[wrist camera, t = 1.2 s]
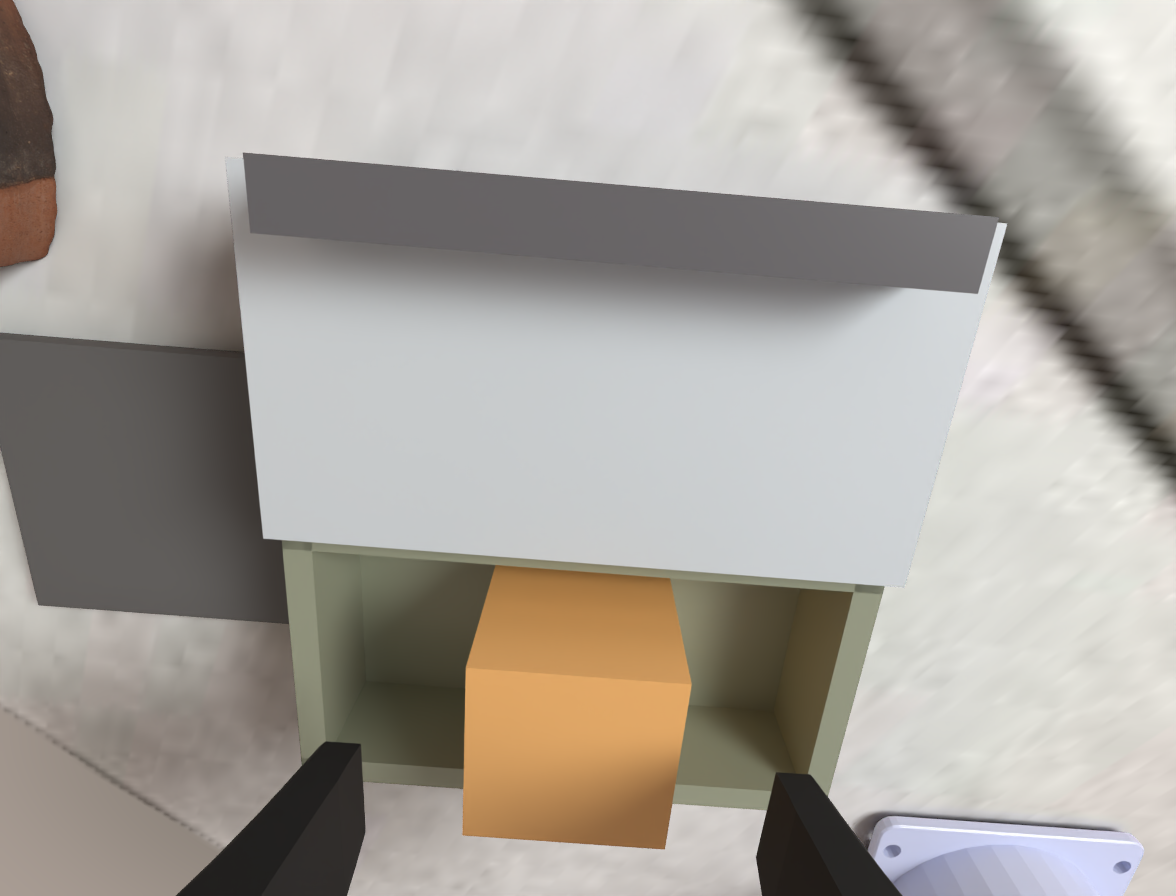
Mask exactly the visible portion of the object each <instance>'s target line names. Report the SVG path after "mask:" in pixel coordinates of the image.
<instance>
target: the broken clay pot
mask: <svg viewBox="0 0 1176 896" xmlns="http://www.w3.org/2000/svg"><path fill="white" fill-rule="evenodd" d="M52 125H53V115H52V112H51V109H50V106H49V104H48V101H47V98H46V94H45V86H44V79H43V72H42V69H41V66H40V64H39V62H38V59H37V54H36V50H35V47H34V44H33V42H32V40H31V38H30V35H29V34H28V32H27V30H26V28H25V27H24V25H23V22H22V18H21V16H20V14H19V12H18V10H17V8H16V6H15V4H14V2H13V0H0V267H3V266H9V265H12V264H16V263H19V262H25V261H33V260H38V259H41V258H43V257H45V256H46V255H47V254H48V250H49V246H50V243H51V242H52V239H53V237H54V232H55V219H56V215H57V204H56V182H55V179H54V174H55V170H56V163H55V156H54V147H53V141H52V135H51V130H52Z"/></svg>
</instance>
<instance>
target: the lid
mask: <svg viewBox="0 0 1176 896" xmlns="http://www.w3.org/2000/svg"><path fill="white" fill-rule="evenodd" d="M225 162H226V172H227V182H228V192H229V202H230V212H231V222H232V232H233V241H234V251H235V261H236V271H237V281H238V291H239V301H240V311H241V321H242V331H243V341H244V351H245V361H246V371H247V381H248V391H249V401H250V411H251V421H252V431H253V441H254V451H255V461H256V471H257V481H258V491H259V501H260V511H261V521H262V531H263V539H276V540H289V541H302V542H315V543H328V544H341V545H354V546H367V547H380V548H393V549H406V550H419V551H433V552H446V553H459V554H472V555H485V556H498V557H511V558H524V559H537V560H550V561H563V562H576V563H589V564H602V565H616V566H629V567H642V568H655V569H668V570H681V571H694V572H707V573H720V574H733V575H746V576H759V577H772V578H786V579H799V580H812V581H825V582H838V583H851V584H864V585H877V586H890V587H903V588H905V584H906V581H907V577H908V574H909V570H910V567H911V563H912V560H913V556H914V552H915V549H916V545H917V542H918V538H919V535H920V531H921V528H922V524H923V521H924V517H925V513H926V510H927V506H928V503H929V499H930V496H931V492H932V489H933V485H934V482H935V478H936V474H937V471H938V467H939V464H940V460H941V457H942V453H943V450H944V446H945V443H946V439H947V435H948V432H949V428H950V425H951V421H952V418H953V414H954V411H955V407H956V404H957V400H958V396H959V393H960V389H961V386H962V382H963V379H964V375H965V372H966V368H967V365H968V361H969V357H970V354H971V350H972V347H973V343H974V340H975V336H976V333H977V329H978V326H979V322H980V318H981V315H982V311H983V308H984V304H985V301H986V297H987V294H988V290H989V287H990V283H991V279H992V276H993V272H994V269H995V265H996V262H997V258H998V255H999V251H1000V248H1001V244H1002V240H1003V237H1004V233H1005V230H1006V226H1007V224H1005V223H998V220H999V217H989V216H977V215H965V214H954V213H942V212H930V211H919V210H907V209H895V208H884V207H872V206H860V205H849V204H837V203H825V202H814V201H802V200H790V199H779V198H767V197H755V196H743V195H732V194H720V193H708V192H697V191H685V190H673V189H662V188H650V187H638V186H627V185H615V184H603V183H592V182H580V181H568V180H557V179H545V178H533V177H522V176H510V175H498V174H486V173H475V172H463V171H451V170H440V169H428V168H416V167H405V166H393V165H381V164H370V163H358V162H346V161H335V160H323V159H311V158H300V157H288V156H276V155H265V154H253V153H243V158H233V157H225Z"/></svg>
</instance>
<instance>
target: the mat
mask: <svg viewBox="0 0 1176 896" xmlns="http://www.w3.org/2000/svg"><path fill="white" fill-rule="evenodd" d="M0 447H1V452H2V456H3V460H4V464H5V468H6V472H7V477H8V481H9V485H10V489H11V493H12V497H13V501H14V506H15V510H16V514H17V518H18V522H19V526H20V531H21V535H22V539H23V543H24V547H25V551H26V555H27V560H28V564H29V568H30V572H31V576H32V580H33V585H34V589H35V593H36V597H37V601H38V605H43V606H56V607H70V608H83V609H97V610H110V611H124V612H137V613H150V614H164V615H177V616H191V617H204V618H217V619H231V620H244V621H258V622H271V623H285V624H289V616H288V605H287V594H286V582H285V571H284V560H283V549H282V540H276V539H263V531H262V521H261V511H260V501H259V491H258V481H257V471H256V461H255V451H254V441H253V431H252V421H251V411H250V401H249V391H248V381H247V371H246V361H245V353H244V352H232V351H219V350H207V349H195V348H182V347H170V346H157V345H145V344H133V343H120V342H108V341H96V340H83V339H71V338H58V337H46V336H34V335H21V334H9V333H0Z"/></svg>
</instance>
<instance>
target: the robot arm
mask: <svg viewBox="0 0 1176 896" xmlns="http://www.w3.org/2000/svg"><path fill="white" fill-rule="evenodd" d="M364 835H365V812H364V793H363V773H362V753H361V744H357V743H343V742H328V741H325V742H324V743H323V744H322V745H320V746H319V747H318V748H317V749H316V751H315V752H314V753H313V754H312V755H311V756H310V757H309V758H308V760H307V761H306V762H305V763H304V764H303V765H302V766H301V767H300V769H299V770H298V771H297V772H296V773H295V774H294V775H293V776H292V778H291V779H290V780H289V781H288V782H287V783H286V784H285V785H284V786H283V788H282V789H281V790H280V791H279V792H278V793H277V794H276V795H275V796H274V797H273V798H272V799H271V801H270V802H269V803H268V804H267V805H266V806H265V807H264V808H263V809H262V810H261V811H260V812H259V813H258V814H257V816H256V817H255V818H254V819H253V820H252V821H251V822H250V823H249V824H248V825H247V826H246V827H245V828H244V829H243V830H242V831H241V832H240V833H239V834H238V835H237V836H236V837H235V838H234V839H233V840H232V841H231V842H230V843H229V844H228V845H227V847H226V848H225V849H224V850H223V851H222V852H221V853H220V854H219V855H218V856H217V857H216V858H215V859H214V860H213V861H212V862H211V863H210V864H209V865H208V866H206V867H205V868H204V869H203V870H202V871H201V872H200V873H199V874H198V875H197V876H196V877H195V878H194V879H193V880H192V881H191V882H190V883H189V884H188V885H187V886H186V887H185V888H184V889H182V890H181V891H180V892H179V893H178V894H177V895H176V896H347V893H348V890H349V887H350V883H351V880H352V877H353V873H354V870H355V867H356V863H357V860H358V856H359V853H360V849H361V846H362V842H363V839H364ZM1143 854H1144V848H1143V846H1142V845H1141V843H1140V842H1139V841H1138V840H1137V839H1136V838H1135V837H1134V836H1133V835H1132V834H1129V833H1125V832H1113V831H1099V830H1085V829H1071V828H1057V827H1043V826H1029V825H1014V824H1000V823H986V822H972V821H958V820H944V819H930V818H916V817H902V816H888V817H885V818H882V819H881V820H880V821H879V822H878V823H877V824H876V826H875V828H874V831H873V835H872V838H871V841H870V844H869V848H868V851H867V850H866V848H865V847H864V846H863V844H862V843H861V842H860V840H859V839H858V837H857V836H856V835H855V833H854V832H853V831H852V829H851V828H850V827H849V825H848V824H847V823H846V821H845V820H844V819H843V817H842V816H841V815H840V813H839V812H838V810H837V809H836V808H835V806H834V805H833V804H832V802H831V801H830V799H829V798H828V797H827V795H826V794H825V793H824V791H823V790H822V789H821V787H820V786H819V784H818V783H817V782H816V780H815V779H814V778H813V777H812V776H811V775H810V774H796V773H781V772H776V774H775V778H774V782H773V787H772V791H771V795H770V800H769V804H768V808H767V813H766V817H765V821H764V825H763V830H762V834H761V838H760V843H759V847H758V851H757V856H756V860H757V866H758V873H759V879H760V885H761V891H762V896H1123V895H1124V893H1125V891H1126V889H1127V887H1128V885H1129V883H1130V881H1131V879H1132V877H1133V875H1134V873H1135V871H1136V869H1137V867H1138V865H1139V863H1140V861H1141V859H1142V857H1143Z"/></svg>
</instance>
